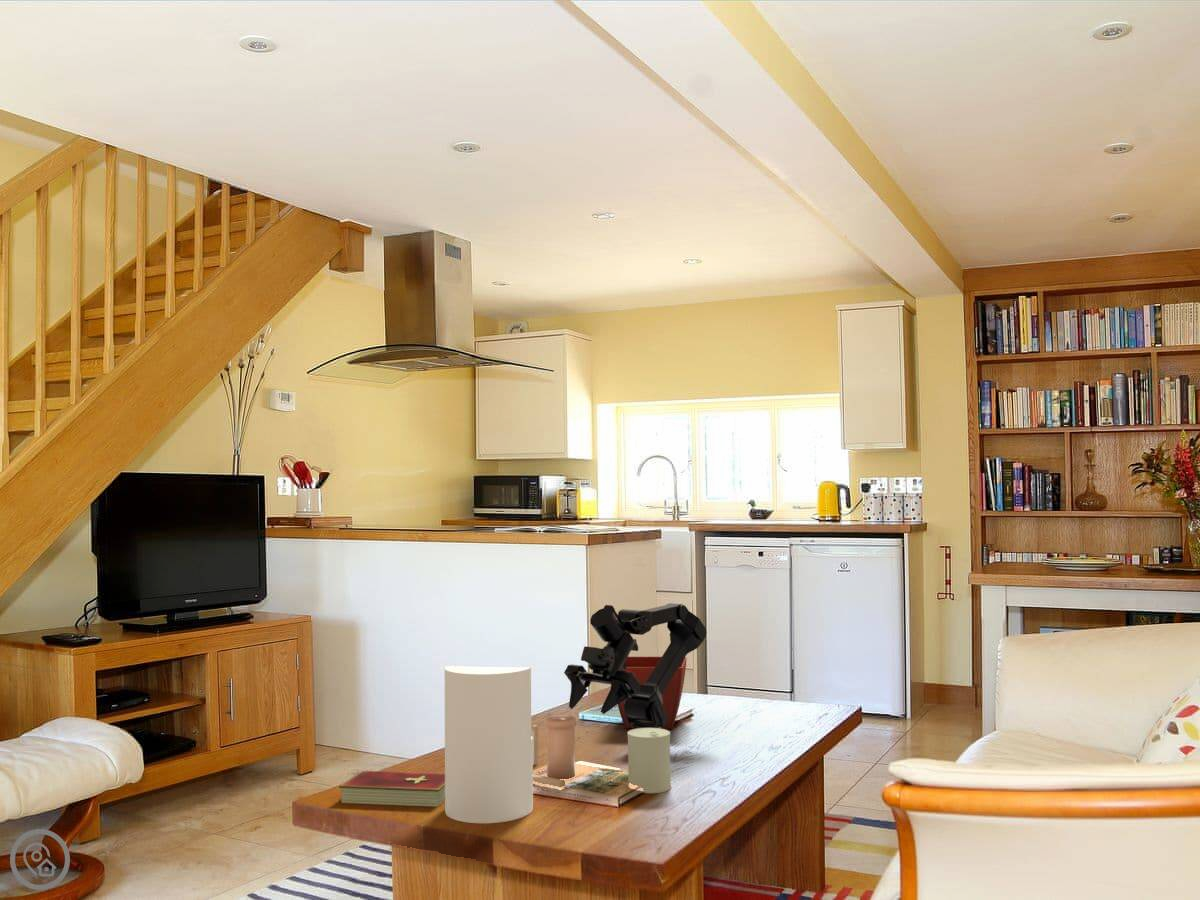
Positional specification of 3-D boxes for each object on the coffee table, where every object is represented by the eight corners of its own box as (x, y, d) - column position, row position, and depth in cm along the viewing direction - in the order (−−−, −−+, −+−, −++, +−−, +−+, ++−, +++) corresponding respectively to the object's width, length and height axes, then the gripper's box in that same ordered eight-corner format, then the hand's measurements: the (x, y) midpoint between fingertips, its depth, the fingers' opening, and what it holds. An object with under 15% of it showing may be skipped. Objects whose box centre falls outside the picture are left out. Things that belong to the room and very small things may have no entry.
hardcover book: (361, 788, 223) (361, 768, 223) (456, 792, 220) (456, 772, 220) (338, 805, 211) (338, 784, 211) (438, 809, 208) (438, 788, 208)
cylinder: (521, 825, 196) (520, 675, 197) (433, 821, 199) (432, 673, 200) (541, 798, 213) (540, 660, 214) (459, 795, 216) (459, 659, 217)
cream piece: (557, 757, 246) (557, 719, 246) (621, 770, 234) (621, 729, 235) (494, 777, 229) (494, 736, 229) (560, 792, 217) (559, 748, 218)
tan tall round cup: (580, 775, 229) (579, 715, 230) (570, 783, 223) (570, 721, 223) (551, 773, 231) (551, 714, 232) (541, 781, 225) (541, 720, 225)
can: (641, 796, 214) (640, 737, 215) (619, 785, 222) (619, 728, 223) (679, 789, 218) (678, 732, 219) (657, 779, 227) (656, 723, 227)
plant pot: (619, 716, 292) (618, 655, 292) (687, 717, 289) (686, 656, 290) (610, 731, 273) (609, 666, 273) (683, 733, 270) (682, 667, 271)
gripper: (568, 629, 245) (537, 684, 236) (632, 635, 234) (602, 693, 224) (590, 659, 251) (560, 713, 242) (653, 666, 239) (625, 723, 230)
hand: (586, 710), depth 234 cm, fingers open, 9 cm apart
